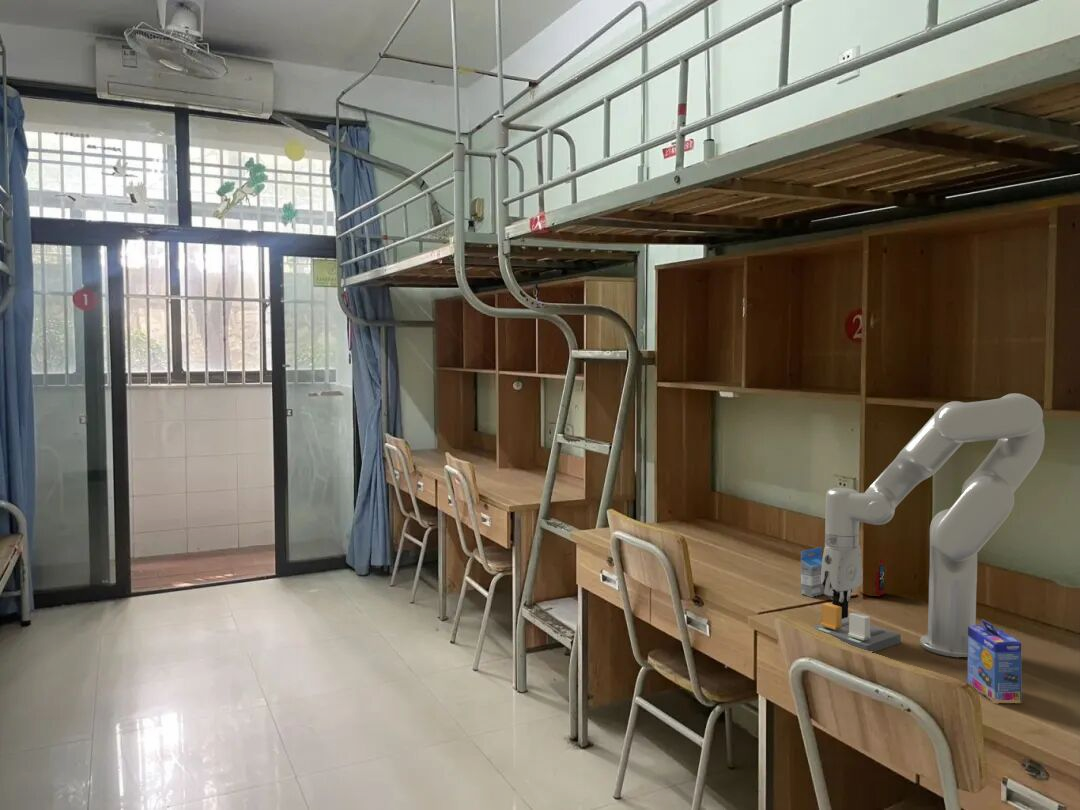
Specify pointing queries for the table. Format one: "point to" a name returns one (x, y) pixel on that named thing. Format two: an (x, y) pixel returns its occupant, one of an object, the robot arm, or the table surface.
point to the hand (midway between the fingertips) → (840, 616)
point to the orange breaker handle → (831, 616)
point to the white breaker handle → (859, 626)
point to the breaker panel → (875, 643)
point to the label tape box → (811, 572)
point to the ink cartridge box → (994, 662)
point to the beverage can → (880, 580)
